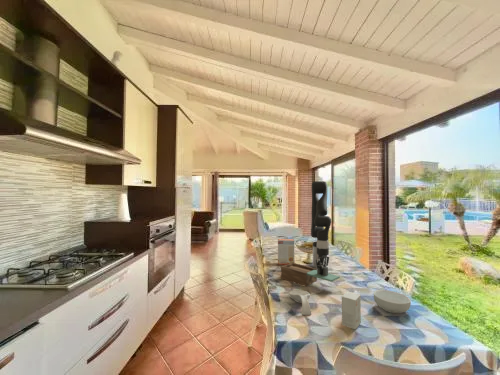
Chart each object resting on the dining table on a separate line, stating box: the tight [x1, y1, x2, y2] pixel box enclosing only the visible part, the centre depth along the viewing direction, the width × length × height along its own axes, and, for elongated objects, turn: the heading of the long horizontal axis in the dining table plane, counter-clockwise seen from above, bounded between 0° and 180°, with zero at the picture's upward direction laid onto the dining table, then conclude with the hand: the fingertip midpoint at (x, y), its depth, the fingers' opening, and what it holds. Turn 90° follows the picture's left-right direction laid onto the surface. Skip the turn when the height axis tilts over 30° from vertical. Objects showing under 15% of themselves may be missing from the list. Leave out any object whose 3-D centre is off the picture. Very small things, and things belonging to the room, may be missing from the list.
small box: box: [341, 290, 362, 330], centre depth 110 cm, size 8×6×13 cm
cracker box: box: [277, 238, 295, 266], centre depth 204 cm, size 14×6×21 cm, turn 84°
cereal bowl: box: [373, 289, 412, 314], centre depth 124 cm, size 17×17×7 cm
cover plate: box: [307, 266, 341, 283], centre depth 153 cm, size 10×18×6 cm, turn 44°
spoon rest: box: [288, 289, 312, 316], centre depth 129 cm, size 24×12×7 cm, turn 1°
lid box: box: [280, 262, 318, 287], centre depth 166 cm, size 14×20×8 cm
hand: (322, 273), depth 153 cm, fingers closed on cover plate, 3 cm apart
